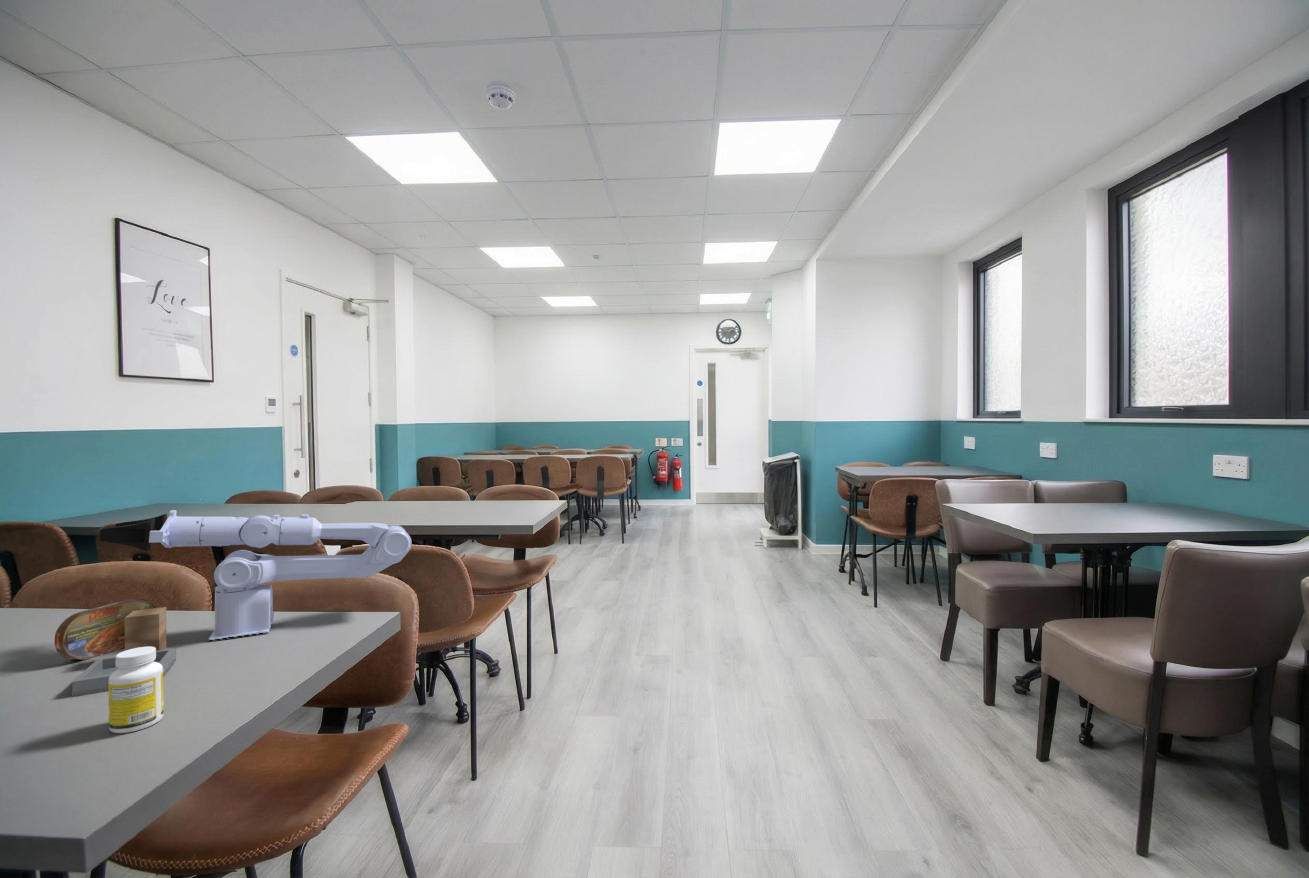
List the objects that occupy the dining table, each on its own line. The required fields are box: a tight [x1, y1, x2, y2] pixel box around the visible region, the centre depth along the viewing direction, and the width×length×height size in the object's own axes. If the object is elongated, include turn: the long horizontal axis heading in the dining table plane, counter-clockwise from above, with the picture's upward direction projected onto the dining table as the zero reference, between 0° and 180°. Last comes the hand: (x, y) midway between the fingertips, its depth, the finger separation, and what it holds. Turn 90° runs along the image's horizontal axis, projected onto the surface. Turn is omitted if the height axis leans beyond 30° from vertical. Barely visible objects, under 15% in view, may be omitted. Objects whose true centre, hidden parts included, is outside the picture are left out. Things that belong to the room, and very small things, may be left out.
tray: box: [71, 647, 177, 697], centre depth 90 cm, size 10×10×2 cm
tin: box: [54, 598, 157, 661], centre depth 102 cm, size 15×3×8 cm, turn 168°
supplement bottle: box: [108, 646, 165, 734], centre depth 75 cm, size 5×5×10 cm
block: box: [124, 606, 167, 651], centre depth 98 cm, size 4×4×8 cm
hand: (108, 531), depth 102 cm, fingers open, 7 cm apart
